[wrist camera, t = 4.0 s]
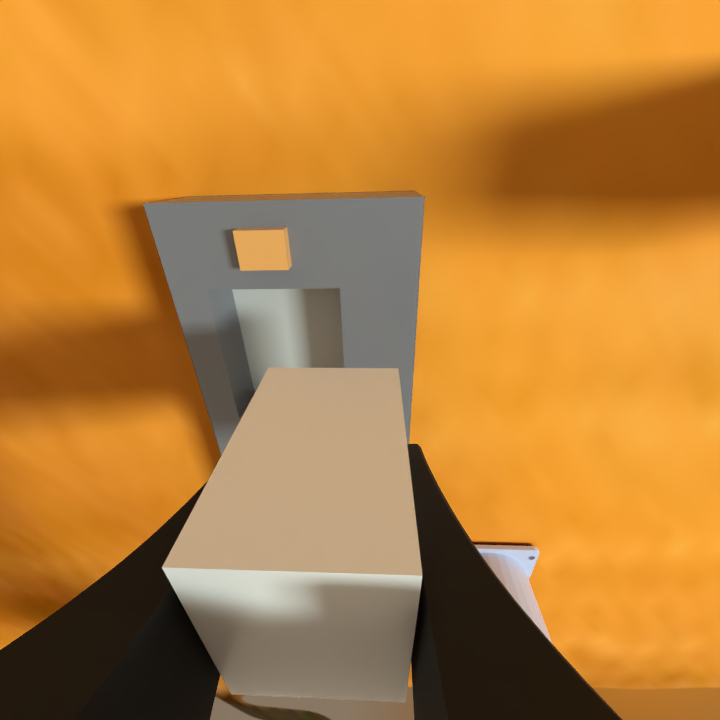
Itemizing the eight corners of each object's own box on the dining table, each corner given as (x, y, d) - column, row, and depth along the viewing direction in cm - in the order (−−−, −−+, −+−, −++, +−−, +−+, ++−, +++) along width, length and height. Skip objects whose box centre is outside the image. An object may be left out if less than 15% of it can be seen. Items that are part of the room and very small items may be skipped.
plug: (392, 472, 13) (405, 702, 8) (292, 470, 14) (230, 694, 8) (397, 358, 11) (422, 576, 5) (273, 357, 11) (161, 567, 5)
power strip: (397, 532, 26) (400, 588, 23) (271, 529, 27) (256, 584, 23) (414, 190, 15) (426, 197, 11) (189, 196, 15) (132, 204, 12)
